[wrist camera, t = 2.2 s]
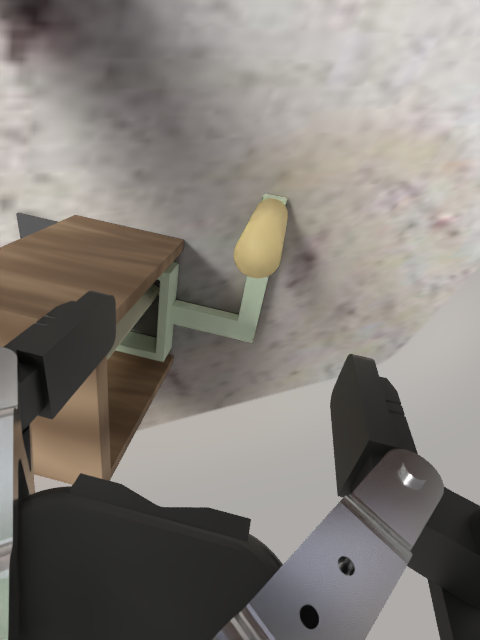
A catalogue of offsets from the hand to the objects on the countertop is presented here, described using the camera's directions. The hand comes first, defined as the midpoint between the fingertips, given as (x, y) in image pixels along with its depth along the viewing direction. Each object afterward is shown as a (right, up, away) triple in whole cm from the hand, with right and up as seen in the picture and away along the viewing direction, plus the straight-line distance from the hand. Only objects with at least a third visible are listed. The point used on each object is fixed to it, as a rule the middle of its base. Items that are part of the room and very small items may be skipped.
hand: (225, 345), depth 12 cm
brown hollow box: (-10, +3, +22) cm, 25 cm away
